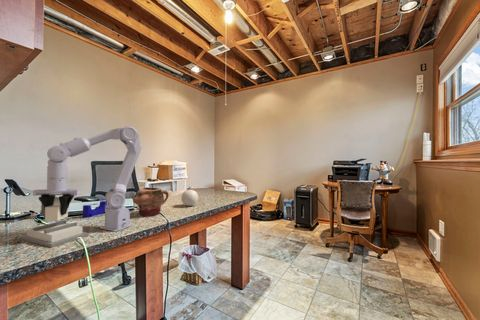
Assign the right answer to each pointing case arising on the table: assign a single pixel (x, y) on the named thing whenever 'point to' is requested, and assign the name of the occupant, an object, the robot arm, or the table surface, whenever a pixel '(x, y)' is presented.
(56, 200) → the mineral rock
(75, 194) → the robot arm
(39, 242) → the stepped base plate
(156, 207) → the brown handled pot
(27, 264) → the table surface
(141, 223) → the table surface
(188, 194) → the ornament
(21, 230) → the table surface
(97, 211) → the cable clip
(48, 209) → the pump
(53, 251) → the table surface
